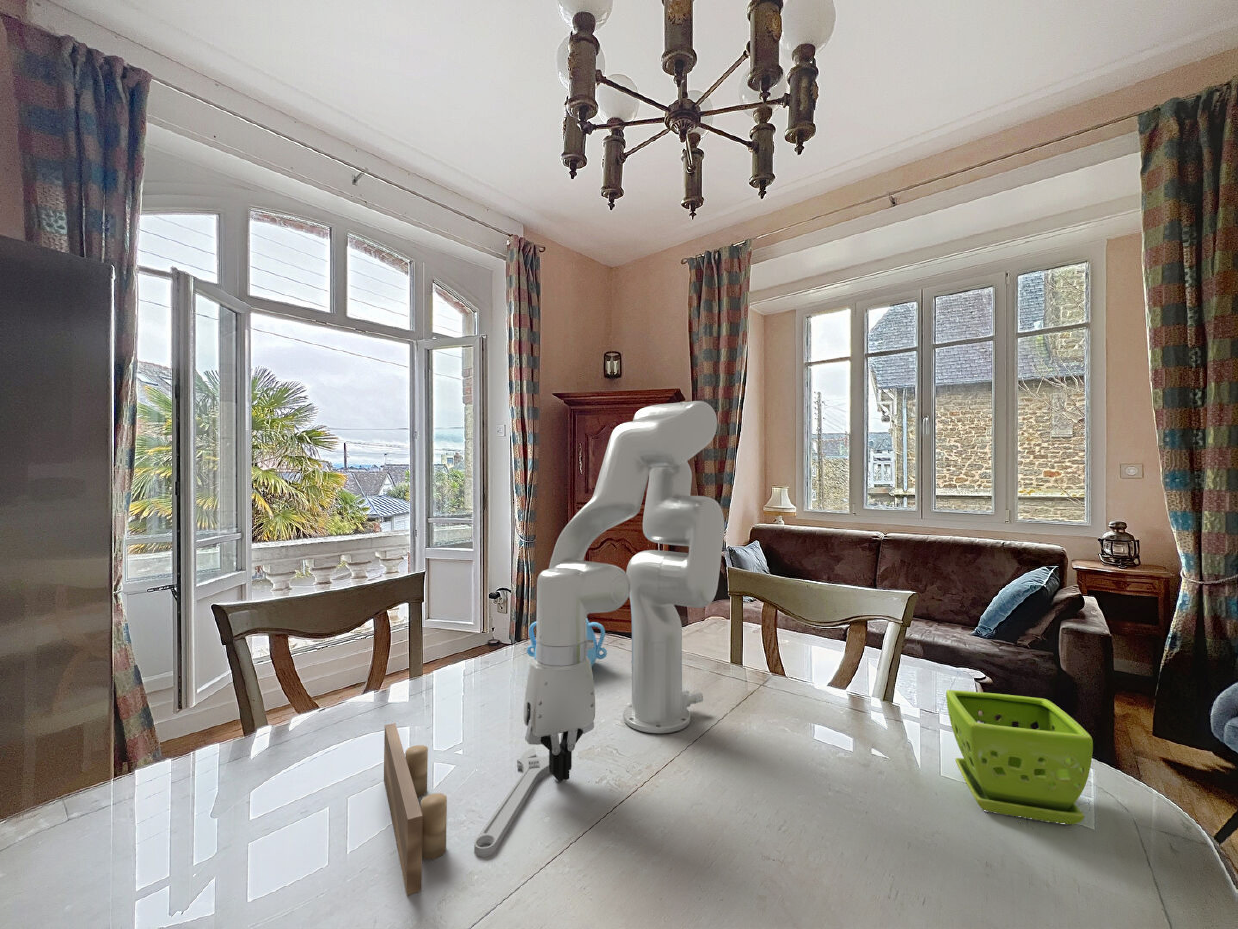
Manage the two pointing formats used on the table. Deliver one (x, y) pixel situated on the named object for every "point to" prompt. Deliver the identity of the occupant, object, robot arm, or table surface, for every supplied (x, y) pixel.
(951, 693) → the flower pot
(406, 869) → the tool rack
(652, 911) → the table surface
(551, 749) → the robot arm
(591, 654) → the decorative pot
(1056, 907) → the table surface
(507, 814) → the adjustable wrench
